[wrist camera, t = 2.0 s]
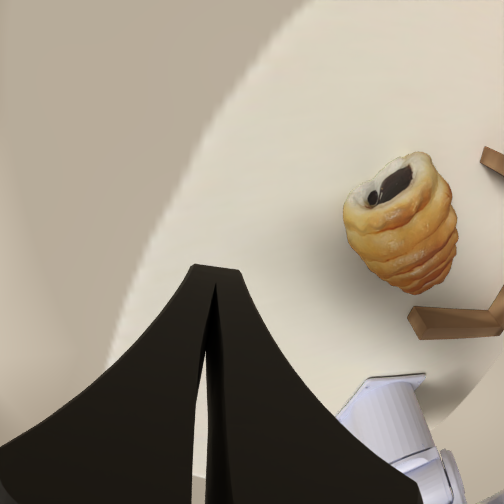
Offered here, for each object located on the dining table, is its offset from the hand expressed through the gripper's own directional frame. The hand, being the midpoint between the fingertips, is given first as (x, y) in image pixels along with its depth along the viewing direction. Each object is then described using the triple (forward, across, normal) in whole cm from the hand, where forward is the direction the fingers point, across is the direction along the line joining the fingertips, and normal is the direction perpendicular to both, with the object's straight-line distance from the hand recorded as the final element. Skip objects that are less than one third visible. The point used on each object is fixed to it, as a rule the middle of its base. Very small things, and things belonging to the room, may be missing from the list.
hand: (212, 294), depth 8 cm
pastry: (+9, -11, 0) cm, 14 cm away
